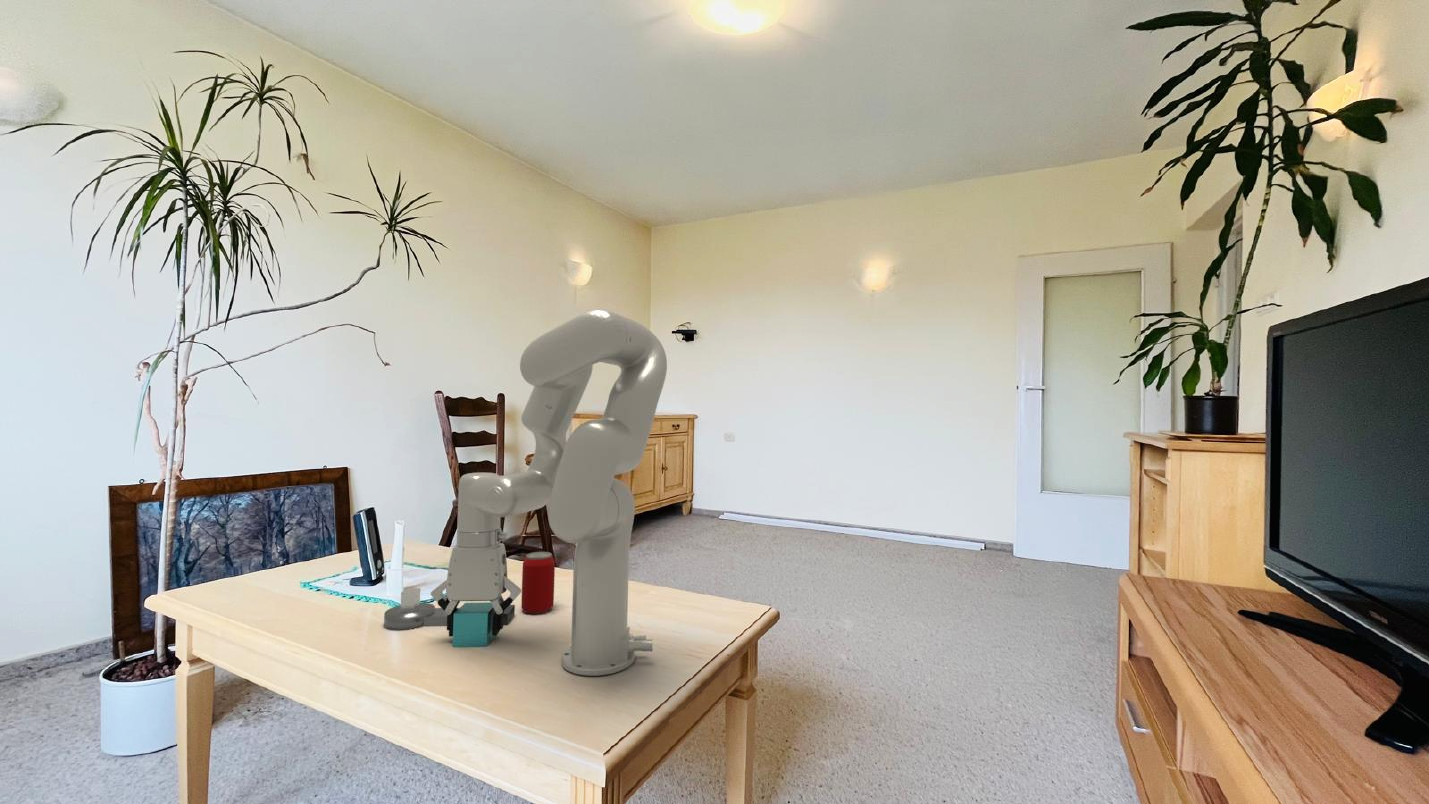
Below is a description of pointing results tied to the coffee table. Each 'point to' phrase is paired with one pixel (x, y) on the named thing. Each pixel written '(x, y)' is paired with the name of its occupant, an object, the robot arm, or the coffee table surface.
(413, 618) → the ratchet
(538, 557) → the beverage can
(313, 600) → the coffee table surface
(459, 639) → the teal cube
